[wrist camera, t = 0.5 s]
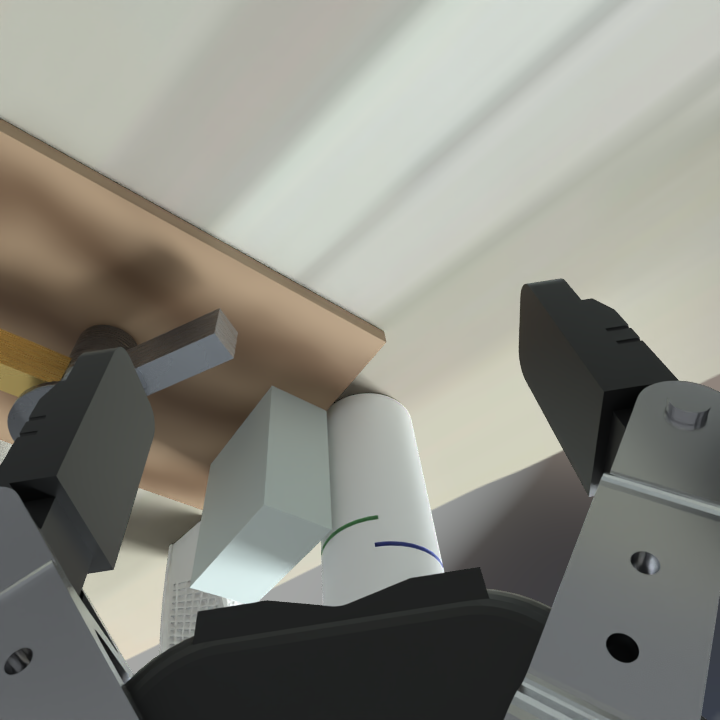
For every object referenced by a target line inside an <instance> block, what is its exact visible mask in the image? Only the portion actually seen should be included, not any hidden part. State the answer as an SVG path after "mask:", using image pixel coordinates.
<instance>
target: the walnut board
mask: <svg viewBox="0 0 720 720" xmlns="http://www.w3.org/2000/svg"><path fill="white" fill-rule="evenodd" d="M219 308H220V309H221V310H222V311H223V313H224V314H225V315H226V317H227V318H228V320H229V321H230V322H231V324H232V325H233V326H234V328H235V329H236V330H237V332H238V335H237V341H236V347H235V354H234V359H231V360H229V361H227V362H224V363H222V364H220V365H217V366H215V367H213V368H210V369H208V370H206V371H203V372H201V373H199V374H197V375H194V376H192V377H190V378H187V379H185V380H183V381H180V382H178V383H176V384H173V385H171V386H169V387H166V388H164V389H162V390H160V391H157V392H155V393H153V394H150V395H148V396H147V398H148V400H149V402H150V404H151V407H152V410H153V414H154V421H155V432H154V438H153V441H152V444H151V448H150V451H149V454H148V457H147V461H146V464H145V467H144V471H143V474H142V477H141V481H140V484H139V487H138V488H141V489H144V490H147V491H150V492H152V493H155V494H158V495H161V496H164V497H167V498H170V499H173V500H175V501H178V502H181V503H184V504H187V505H190V506H193V507H196V508H199V509H201V510H203V506H204V500H205V494H206V488H207V483H208V477H209V471H210V465H211V463H212V462H213V461H214V460H215V458H216V457H217V456H218V454H219V453H220V452H221V451H222V449H223V448H224V447H225V445H226V444H227V443H228V442H229V440H230V439H231V438H232V436H233V435H234V434H235V433H236V431H237V430H238V429H239V427H240V426H241V425H242V424H243V422H244V421H245V420H246V418H247V417H248V416H249V414H250V413H251V412H252V411H253V409H254V408H255V407H256V405H257V404H258V403H259V402H260V400H261V399H262V398H263V396H264V395H265V394H266V393H267V391H268V390H269V389H270V387H271V386H274V387H276V388H278V389H281V390H283V391H285V392H287V393H289V394H291V395H294V396H296V397H298V398H300V399H302V400H304V401H306V402H309V403H311V404H313V405H315V406H317V407H319V408H322V409H324V410H326V411H327V410H328V409H329V408H330V406H331V405H332V404H333V403H334V402H335V401H336V399H337V398H338V397H339V396H340V395H341V394H342V393H343V391H344V390H345V389H346V388H347V387H348V386H349V385H350V383H351V382H352V381H353V380H354V379H355V378H356V376H357V375H358V374H359V373H360V372H361V371H362V370H363V368H364V367H365V366H366V365H367V364H368V363H369V361H370V360H371V359H372V358H373V357H374V356H375V355H376V353H377V352H378V351H379V350H380V349H381V348H382V347H383V345H384V344H385V343H386V339H385V334H384V331H382V330H380V329H378V328H376V327H375V326H373V325H371V324H369V323H367V322H366V321H364V320H362V319H360V318H358V317H357V316H355V315H353V314H351V313H349V312H348V311H346V310H344V309H342V308H340V307H339V306H337V305H335V304H333V303H331V302H330V301H328V300H326V299H324V298H322V297H321V296H319V295H317V294H315V293H313V292H312V291H310V290H308V289H306V288H304V287H303V286H301V285H299V284H297V283H295V282H294V281H292V280H290V279H288V278H286V277H285V276H283V275H281V274H279V273H277V272H276V271H274V270H272V269H270V268H268V267H267V266H265V265H263V264H261V263H259V262H258V261H256V260H254V259H252V258H250V257H249V256H247V255H245V254H243V253H241V252H240V251H238V250H236V249H234V248H232V247H231V246H229V245H227V244H225V243H223V242H222V241H220V240H218V239H216V238H214V237H213V236H211V235H209V234H207V233H205V232H204V231H202V230H200V229H198V228H196V227H195V226H193V225H191V224H189V223H187V222H186V221H184V220H182V219H180V218H178V217H177V216H175V215H173V214H171V213H169V212H168V211H166V210H164V209H162V208H160V207H159V206H157V205H155V204H153V203H151V202H150V201H148V200H146V199H144V198H142V197H141V196H139V195H137V194H135V193H133V192H132V191H130V190H128V189H126V188H124V187H123V186H121V185H119V184H117V183H115V182H114V181H112V180H110V179H108V178H106V177H105V176H103V175H101V174H99V173H97V172H96V171H94V170H92V169H90V168H88V167H87V166H85V165H83V164H81V163H79V162H78V161H76V160H74V159H72V158H70V157H69V156H67V155H65V154H63V153H61V152H60V151H58V150H56V149H54V148H52V147H51V146H49V145H47V144H45V143H43V142H42V141H40V140H38V139H36V138H34V137H33V136H31V135H29V134H27V133H25V132H24V131H22V130H20V129H18V128H16V127H15V126H13V125H11V124H9V123H7V122H6V121H4V120H2V119H1V120H0V328H1V329H3V330H6V331H8V332H10V333H13V334H15V335H17V336H20V337H22V338H25V339H27V340H29V341H32V342H34V343H37V344H39V345H41V346H44V347H46V348H49V349H51V350H53V351H56V352H58V353H60V354H63V355H65V356H68V357H69V355H70V353H71V351H72V349H73V347H74V346H75V344H76V342H77V340H78V338H79V336H80V335H81V333H82V332H83V331H84V330H86V329H87V328H89V327H92V326H95V325H110V326H114V327H117V328H120V329H122V330H124V331H125V332H127V333H128V334H129V335H131V336H132V337H133V339H134V340H135V341H136V343H137V345H139V344H142V343H144V342H146V341H148V340H150V339H153V338H155V337H157V336H159V335H161V334H164V333H166V332H168V331H170V330H172V329H175V328H177V327H179V326H181V325H183V324H186V323H188V322H190V321H192V320H194V319H197V318H199V317H201V316H203V315H205V314H208V313H210V312H212V311H214V310H216V309H219ZM17 398H18V397H17V396H14V395H12V394H9V393H6V392H4V391H1V390H0V440H2V441H5V442H8V443H11V444H13V443H14V440H13V439H12V437H11V435H10V433H9V430H8V424H7V420H8V414H9V412H10V410H11V408H12V406H13V404H14V403H15V401H16V400H17Z"/></svg>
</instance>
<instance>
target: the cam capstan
mask: <svg viewBox="0 0 720 720" xmlns="http://www.w3.org/2000/svg"><path fill="white" fill-rule="evenodd" d="M237 335H238V332H237V330H236V329H235V328H234V326H233V325H232V324H231V322H230V321H229V320H228V318H227V317H226V315H225V314H224V313H223V311H222V310H221V309H220V308H219V309H216V310H214V311H212V312H210V313H208V314H205V315H203V316H201V317H199V318H197V319H194V320H192V321H190V322H188V323H186V324H183V325H181V326H179V327H177V328H175V329H172V330H170V331H168V332H166V333H164V334H161V335H159V336H157V337H155V338H153V339H150V340H148V341H146V342H144V343H142V344H139V345H137V343H136V341H135V340H134V339H133V337H132V336H131V335H129V334H128V333H127V332H125V331H124V330H122V329H120V328H117V327H114V326H110V325H95V326H92V327H89V328H87V329H86V330H84V331H83V332H82V333H81V335H80V336H79V338H78V340H77V342H76V344H75V346H74V347H73V349H72V351H71V353H70V355H69V357H68V356H65V355H63V354H60V353H58V352H56V351H53V350H51V349H49V348H46V347H44V346H41V345H39V344H37V343H34V342H32V341H29V340H27V339H25V338H22V337H20V336H17V335H15V334H13V333H10V332H8V331H6V330H3V329H1V328H0V390H1V391H4V392H6V393H9V394H12V395H14V396H17V397H18V398H17V400H16V401H15V403H14V404H13V406H12V408H11V410H10V412H9V414H8V420H7V424H8V430H9V433H10V435H11V437H12V439H13V440H14V442H15V440H16V438H17V437H20V434H19V433H20V431H21V430H22V428H23V426H24V425H25V423H26V422H28V421H29V416H30V414H31V413H32V411H33V409H34V408H35V406H36V404H37V403H38V401H39V399H40V398H41V397H43V396H44V395H45V394H46V393H47V392H48V391H49V390H50V389H51V388H53V387H54V386H55V385H56V384H57V383H58V382H59V381H64V380H66V379H67V377H68V375H69V374H70V372H71V370H72V368H73V366H74V365H75V363H76V361H77V359H78V357H79V356H80V355H81V354H82V353H84V352H91V351H97V350H104V349H110V348H116V347H122V348H124V349H125V350H126V351H127V353H128V354H129V356H130V358H131V361H132V363H133V365H134V368H135V370H136V372H137V375H138V377H139V379H140V381H141V384H142V386H143V388H144V391H145V393H146V395H147V396H148V395H150V394H153V393H155V392H157V391H160V390H162V389H164V388H166V387H169V386H171V385H173V384H176V383H178V382H180V381H183V380H185V379H187V378H190V377H192V376H194V375H197V374H199V373H201V372H203V371H206V370H208V369H210V368H213V367H215V366H217V365H220V364H222V363H224V362H227V361H229V360H231V359H234V354H235V347H236V341H237Z"/></svg>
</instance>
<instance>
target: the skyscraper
mask: <svg viewBox="0 0 720 720" xmlns="http://www.w3.org/2000/svg"><path fill="white" fill-rule="evenodd" d="M200 524H201V521H200V522H198V523H197V524H196V525H195V526H194V527H193V528H192V529H190V530H189V531H188V532H187V533H186V534H185V535H184V536H182V537H181V538H180V539H179V540H178V541H177V542H176V543H174V544H171V545H170V546H169V551H168V559H167V567H166V574H165V583H164V592H163V602H162V614H161V628H160V651H159V655H160V654H161V653H163V652H164V651H166V650H167V649H169V648H170V647H172V646H174V645H176V644H178V643H180V642H182V641H183V640H185V639H187V638H190V637H192V636H194V632H195V626H196V619H197V613H198V611H203V610H209V609H216V608H222V607H229V606H235V605H241V604H245V603H242V602H238V601H235V600H231V599H228V598H224V597H221V596H217V595H214V594H210V593H207V592H203V591H200V590H196V589H193V588H190V582H191V577H192V571H193V565H194V559H195V553H196V547H197V541H198V535H199V530H200Z"/></svg>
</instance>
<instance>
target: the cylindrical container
mask: <svg viewBox="0 0 720 720" xmlns="http://www.w3.org/2000/svg"><path fill="white" fill-rule="evenodd" d="M327 430H328V452H329V473H330V495H331V516H332V530H331V531H330V532H329V533H328V534H327V535H326V536H325V537H324V538H323V539H322V540H321V555H322V593H323V606H342V605H345V604H348V603H351V602H353V601H356V600H358V599H361V598H363V597H365V596H368V595H370V594H373V593H375V592H378V591H380V590H382V589H385V588H387V587H390V586H392V585H395V584H397V583H399V582H402V581H404V580H407V579H409V578H413V577H420V576H426V575H432V574H439V573H444V569H443V565H442V560H441V555H440V551H439V546H438V542H437V537H436V533H435V527H434V523H433V518H432V513H431V509H430V504H429V500H428V495H427V490H426V486H425V481H424V476H423V472H422V467H421V462H420V458H419V453H418V448H417V444H416V439H415V434H414V429H413V425H412V420H411V416H410V414H409V412H408V410H407V409H406V408H405V407H404V406H403V405H402V404H401V403H400V402H398V401H397V400H395V399H393V398H391V397H389V396H385V395H381V394H374V393H362V394H356V395H351V396H348V397H346V398H343V399H341V400H339V401H337V402H336V403H334V404H333V405H332V406H330V408H329V409H328V410H327Z"/></svg>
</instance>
